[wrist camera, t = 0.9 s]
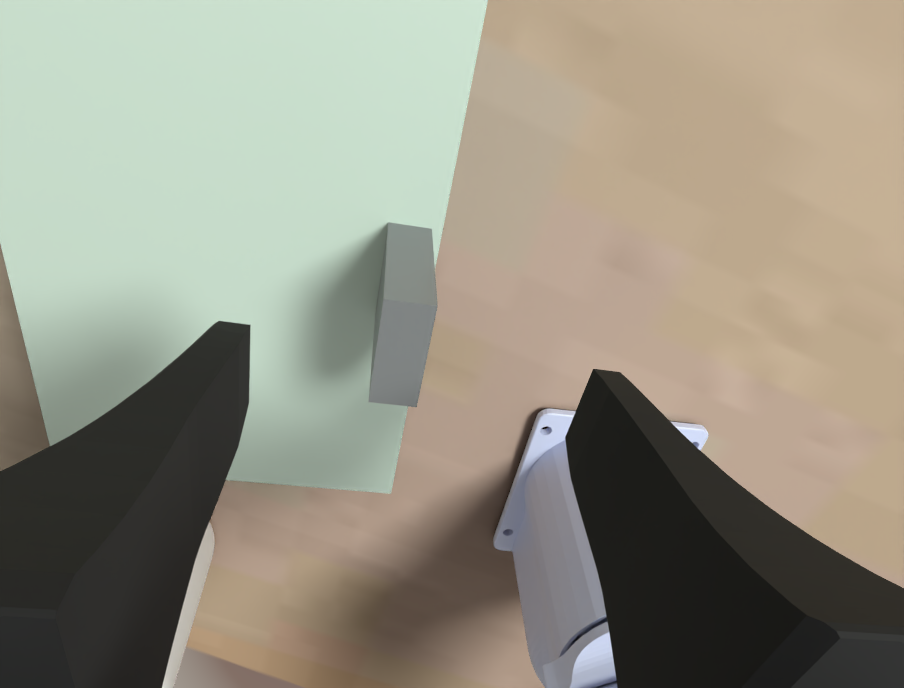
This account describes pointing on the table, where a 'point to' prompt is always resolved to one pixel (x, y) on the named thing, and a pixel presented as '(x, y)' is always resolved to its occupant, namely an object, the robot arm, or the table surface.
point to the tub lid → (235, 208)
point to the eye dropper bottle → (190, 606)
